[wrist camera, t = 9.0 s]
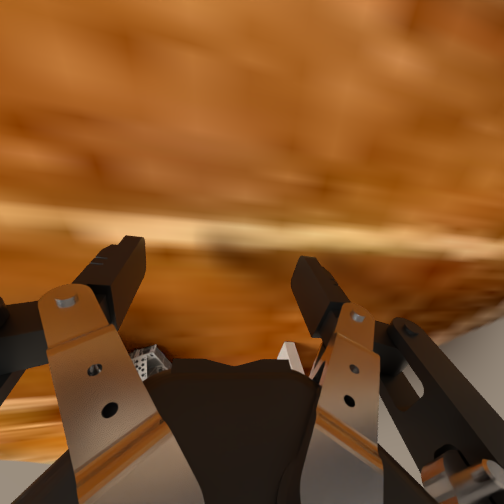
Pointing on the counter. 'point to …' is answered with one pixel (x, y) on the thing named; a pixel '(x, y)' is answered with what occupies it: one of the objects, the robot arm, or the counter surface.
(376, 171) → the counter surface
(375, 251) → the counter surface
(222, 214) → the counter surface
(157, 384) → the robot arm
